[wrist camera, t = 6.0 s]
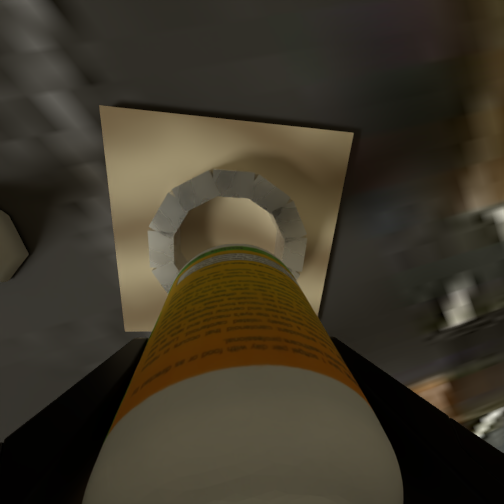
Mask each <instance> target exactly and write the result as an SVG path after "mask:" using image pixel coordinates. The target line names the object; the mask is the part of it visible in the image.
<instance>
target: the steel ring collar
mask: <svg viewBox="0 0 504 504" xmlns="http://www.w3.org/2000/svg"><path fill="white" fill-rule="evenodd" d="M217 196H218V197H233V198H248V199H250V200H251V201H253V202H254V203H256V204H257V205H259V206H260V207H262V208H263V209H265V210H266V211H267V212H268V213H269V215H270V217H271V219H272V222H273V224H274V226H275V228H276V230H277V233H276V242H275V251H274V255H275V256H276V257H277V258H279V259H280V260H281V261H282V262H283V263H284V264H285V265H286V266H287V268H288V269H289V270H290V272H291V273H292V275H293V276H294V278H295V279H296V280H297V279H298V278H299V276H300V274H299V272H302V269H303V263H304V256H305V250H306V244H307V237H306V236H304V235H307V233H306V230H305V228H304V226H303V223H302V221H301V218H300V216H299V213H298V211H297V208H296V206H295V203H294V201H293V200H291V199H290V198H291V197H290V196H288V195H287V194H285V193H284V192H283V191H281V190H280V189H279V188H277V187H276V186H274V185H273V184H272V183H270V182H269V181H268V180H266V179H265V178H263V177H262V176H261V175H259V174H256V173H254V172H251V171H239V170H226V169H213V173H212V171H211V169H210V170H208V171H206V172H204V173H202V174H200V175H198V176H196V177H194V178H192V179H191V180H189V181H187V182H185V183H183V184H181V185H179V186H177V187H175V188H173V189H172V191H170V192H168V194H167V195H166V197H165V199H164V201H163V202H162V204H161V206H160V207H159V209H158V211H157V213H156V214H155V216H154V218H153V220H152V221H151V223H150V225H149V227H150V229H149V230H148V244H149V259H150V267H153V270H152V273H153V274H154V276H155V277H156V278H157V280H158V281H159V283H160V284H161V285H162V287H163V288H164V290H165V291H166V292H167V294H168V293H169V291H170V289H171V287H172V285H173V282H174V281H175V279H176V277H177V275H178V273H179V272H180V271H181V269H182V268H183V267H184V266H185V265H186V264H187V263H188V262H187V260H186V259H185V257H184V255H183V254H182V252H181V238H180V226H181V224H182V223H183V221H184V219H185V218H186V216H187V214H188V213H189V211H190V210H191V209H193V208H195V207H197V206H199V205H201V204H203V203H205V202H207V201H209V200H211V199H213V198H215V197H217Z"/></svg>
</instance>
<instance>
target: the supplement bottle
mask: <svg viewBox="0 0 504 504" xmlns="http://www.w3.org/2000/svg"><path fill="white" fill-rule="evenodd" d="M82 504H403V482H402V477H401V472H400V468H399V464H398V461H397V458H396V455H395V452H394V450H393V448H392V446H391V443H390V441H389V439H388V437H387V435H386V434H385V432H384V430H383V428H382V426H381V424H380V422H379V420H378V419H377V417H376V415H375V413H374V411H373V409H372V408H371V406H370V404H369V402H368V401H367V399H366V397H365V396H364V394H363V392H362V390H361V389H360V387H359V385H358V384H357V382H356V380H355V379H354V377H353V375H352V374H351V372H350V371H349V369H348V367H347V366H346V364H345V362H344V361H343V359H342V357H341V356H340V354H339V352H338V351H337V349H336V347H335V346H334V344H333V342H332V341H331V339H330V337H329V336H328V334H327V332H326V330H325V329H324V327H323V325H322V324H321V322H320V320H319V318H318V317H317V315H316V313H315V312H314V310H313V308H312V307H311V305H310V303H309V301H308V300H307V298H306V296H305V295H304V293H303V291H302V290H301V288H300V286H299V285H298V283H297V281H296V279H295V278H294V276H293V275H292V273H291V272H290V270H289V269H288V268H287V266H286V265H285V264H284V263H283V262H282V261H281V260H280V259H279V258H277V257H276V256H275V255H273V254H272V253H270V252H268V251H266V250H264V249H262V248H259V247H257V246H253V245H249V244H224V245H219V246H216V247H212V248H210V249H207V250H205V251H203V252H201V253H200V254H198V255H196V256H195V257H194V258H192V259H191V260H190V261H189V262H188V263H187V264H186V265H185V266H184V267H183V268H182V269H181V271H180V272H179V273H178V275H177V277H176V279H175V281H174V282H173V285H172V287H171V289H170V291H169V293H168V295H167V298H166V301H165V303H164V305H163V308H162V310H161V312H160V315H159V317H158V320H157V322H156V324H155V326H154V329H153V331H152V333H151V335H150V338H149V340H148V342H147V344H146V347H145V349H144V352H143V354H142V356H141V359H140V361H139V363H138V365H137V368H136V370H135V372H134V375H133V377H132V379H131V381H130V384H129V386H128V389H127V391H126V393H125V395H124V397H123V400H122V402H121V404H120V406H119V409H118V411H117V413H116V415H115V417H114V420H113V422H112V425H111V427H110V429H109V431H108V434H107V436H106V438H105V440H104V443H103V445H102V448H101V450H100V453H99V455H98V458H97V460H96V463H95V465H94V468H93V470H92V473H91V475H90V478H89V481H88V484H87V487H86V489H85V493H84V497H83V501H82Z"/></svg>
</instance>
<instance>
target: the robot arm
mask: <svg viewBox="0 0 504 504" xmlns="http://www.w3.org/2000/svg"><path fill="white" fill-rule="evenodd" d="M330 339H331V341H332V342H333V344H334V346H335V347H336V349H337V351H338V352H339V354H340V356H341V357H342V359H343V361H344V362H345V364H346V366H347V367H348V369H349V371H350V372H351V374H352V375H353V377H354V379H355V380H356V382H357V384H358V385H359V387H360V389H361V390H362V392H363V394H364V396H365V397H366V399H367V401H368V402H369V404H370V406H371V408H372V409H373V411H374V413H375V415H376V417H377V419H378V420H379V422H380V424H381V426H382V428H383V430H384V432H385V434H386V435H387V437H388V439H389V441H390V443H391V446H392V448H393V450H394V452H395V455H396V458H397V461H398V464H399V468H400V472H401V477H402V482H403V504H504V453H502V452H501V451H499V450H498V449H496V448H495V447H493V446H492V445H490V444H489V443H487V442H486V441H484V440H483V439H481V438H480V437H478V436H477V435H475V434H474V433H472V432H471V431H469V430H468V429H467V428H465V427H464V426H462V425H461V424H459V423H458V422H456V421H455V420H454V419H452V418H449V417H448V415H446V414H445V413H443V412H442V411H440V410H439V409H438V408H436V407H435V406H433V405H432V404H430V403H429V402H427V401H426V400H425V399H423V398H422V397H420V396H419V395H417V394H416V393H414V392H413V391H412V390H410V389H409V388H407V387H406V386H404V385H403V384H401V383H400V382H399V381H397V380H396V379H394V378H393V377H391V376H390V375H388V374H387V373H386V372H384V371H383V370H381V369H380V368H378V367H377V366H375V365H374V364H373V363H371V362H370V361H368V360H367V359H365V358H364V357H362V356H361V355H360V354H358V353H357V352H355V351H354V350H352V349H351V348H349V347H348V346H347V345H345V344H344V343H342V342H341V341H339V340H338V339H336V338H335V337H330ZM148 340H149V339H148V338H134V339H133V340H131V341H130V342H129V343H128V344H126V345H125V346H124V347H122V348H121V349H120V350H119V351H117V352H116V353H115V354H113V355H112V356H111V357H110V358H108V359H107V360H106V361H104V362H103V363H102V364H101V365H99V366H98V367H97V368H95V369H94V370H93V371H92V372H90V373H89V374H88V375H86V376H85V377H84V378H83V379H81V380H80V381H79V382H77V383H76V384H75V385H74V386H72V387H71V388H70V389H68V390H67V391H66V392H65V393H63V394H62V395H61V396H59V397H58V398H57V399H56V400H54V401H53V402H52V403H50V404H49V405H48V406H47V407H45V408H44V409H43V410H41V411H40V412H39V413H38V414H36V415H35V416H34V417H32V418H31V419H30V420H29V421H27V422H26V423H25V424H23V425H22V426H21V427H20V428H18V429H17V430H16V431H14V432H13V433H12V434H11V435H9V436H8V437H7V438H6V439H5V440H4V443H2V442H1V443H0V504H82V501H83V497H84V493H85V489H86V487H87V484H88V481H89V478H90V475H91V473H92V470H93V468H94V465H95V463H96V460H97V458H98V455H99V453H100V450H101V448H102V445H103V443H104V440H105V438H106V436H107V434H108V431H109V429H110V427H111V425H112V422H113V420H114V417H115V415H116V413H117V411H118V409H119V406H120V404H121V402H122V400H123V397H124V395H125V393H126V391H127V389H128V386H129V384H130V381H131V379H132V377H133V375H134V372H135V370H136V368H137V365H138V363H139V361H140V359H141V356H142V354H143V352H144V349H145V347H146V344H147V342H148Z"/></svg>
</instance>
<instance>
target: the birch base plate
mask: <svg viewBox="0 0 504 504" xmlns="http://www.w3.org/2000/svg"><path fill="white" fill-rule="evenodd" d="M99 107H100V116H101V125H102V134H103V142H104V151H105V160H106V169H107V177H108V186H109V195H110V204H111V213H112V221H113V230H114V239H115V248H116V257H117V265H118V274H119V283H120V292H121V301H122V309H123V318H124V327H125V331H153V329H154V326H155V324H156V322H157V320H158V317H159V315H160V312H161V310H162V308H163V305H164V303H165V301H166V298H167V295H168V294H167V292H166V291H165V290H164V288H163V287H162V285H161V284H160V283H159V281H158V280H157V278H156V277H155V276H154V274H153V273H152V270H153V267H150V259H149V244H148V230H149V229H150V227H149V225H150V223H151V221H152V220H153V218H154V216H155V214H156V213H157V211H158V209H159V207H160V206H161V204H162V202H163V201H164V199H165V197H166V195H167V194H168V192H170V191H172V189H173V188H175V187H177V186H179V185H181V184H183V183H185V182H187V181H189V180H191V179H192V178H194V177H196V176H198V175H200V174H202V173H204V172H206V171H208V170H210V169H211V171H212V173H213V169H226V170H239V171H251V172H254V173H256V174H259V175H261V176H262V177H263V178H265V179H266V180H268V181H269V182H270V183H272V184H273V185H274V186H276V187H277V188H279V189H280V190H281V191H283V192H284V193H285V194H287V195H288V196H290V197H291V198H290V199H291V200H293V201H294V203H295V206H296V208H297V211H298V213H299V216H300V218H301V221H302V223H303V226H304V228H305V230H306V233H307V235H304V236H306V237H307V244H306V250H305V256H304V263H303V269H302V272H299V274H300V276H299V278H298V279H297V280H296V281H297V283H298V285H299V286H300V288H301V290H302V291H303V293H304V295H305V296H306V298H307V300H308V301H309V303H310V305H311V307H312V308H313V310H314V312H315V313H316V315H317V317H318V312H319V307H320V302H321V297H322V292H323V286H324V281H325V276H326V271H327V266H328V261H329V256H330V251H331V246H332V241H333V236H334V231H335V226H336V221H337V216H338V210H339V205H340V200H341V195H342V190H343V185H344V180H345V175H346V170H347V165H348V160H349V155H350V150H351V145H352V140H353V134H354V133H351V132H342V131H332V130H323V129H314V128H305V127H295V126H286V125H277V124H267V123H258V122H249V121H239V120H230V119H221V118H212V117H202V116H193V115H184V114H174V113H165V112H156V111H146V110H137V109H128V108H119V107H109V106H100V105H99ZM276 233H277V230H276V228H275V226H274V224H273V222H272V219H271V217H270V215H269V213H268V212H267V211H266V210H265V209H263V208H262V207H260V206H259V205H257V204H256V203H254V202H253V201H251V200H250V199H248V198H233V197H218V196H217V197H215V198H213V199H211V200H209V201H207V202H205V203H203V204H201V205H199V206H197V207H195V208H193V209H191V210H190V211H189V213H188V214H187V216H186V218H185V219H184V221H183V223H182V224H181V226H180V238H181V252H182V254H183V255H184V257H185V259H186V260H187V262H189V261H190V260H191V259H192V258H194V257H195V256H196V255H198V254H200V253H201V252H203V251H205V250H207V249H210V248H212V247H216V246H219V245H224V244H249V245H253V246H257V247H259V248H262V249H264V250H266V251H268V252H270V253H272V254H273V255H274V251H275V242H276Z"/></svg>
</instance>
